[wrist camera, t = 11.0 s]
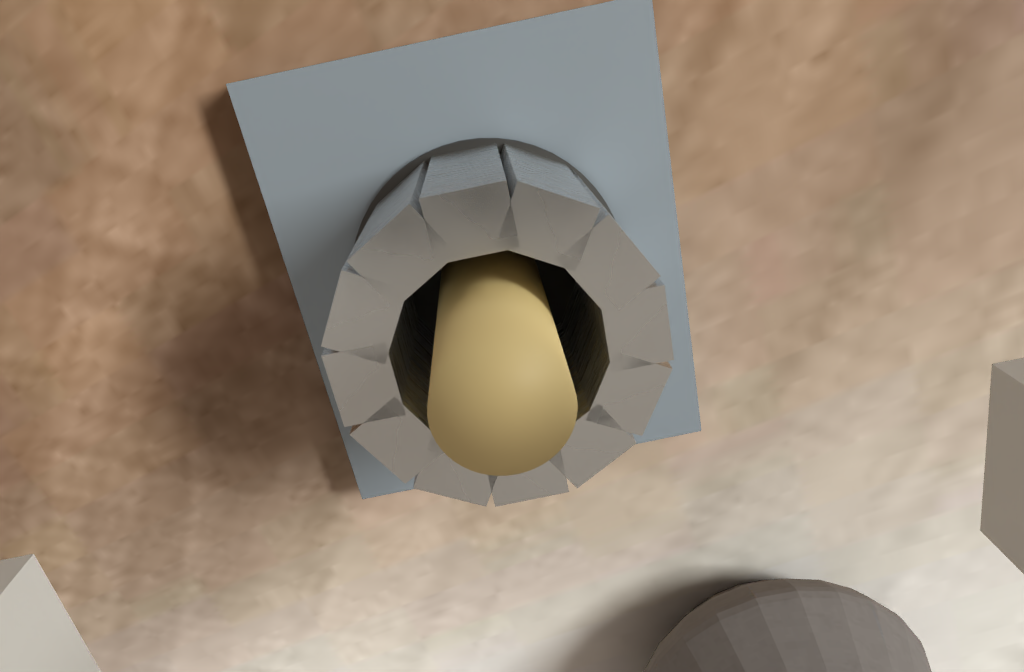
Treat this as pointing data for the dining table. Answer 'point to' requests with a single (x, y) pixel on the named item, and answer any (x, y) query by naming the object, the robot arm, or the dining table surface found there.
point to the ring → (582, 331)
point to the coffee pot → (790, 632)
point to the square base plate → (492, 277)
